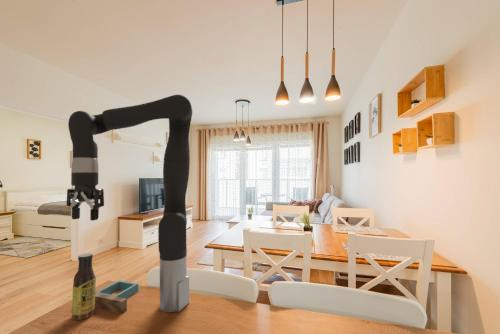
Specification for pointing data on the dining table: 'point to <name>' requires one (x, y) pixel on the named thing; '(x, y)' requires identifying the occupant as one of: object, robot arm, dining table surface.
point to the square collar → (123, 285)
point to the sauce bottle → (84, 289)
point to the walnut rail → (110, 303)
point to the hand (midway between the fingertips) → (84, 219)
